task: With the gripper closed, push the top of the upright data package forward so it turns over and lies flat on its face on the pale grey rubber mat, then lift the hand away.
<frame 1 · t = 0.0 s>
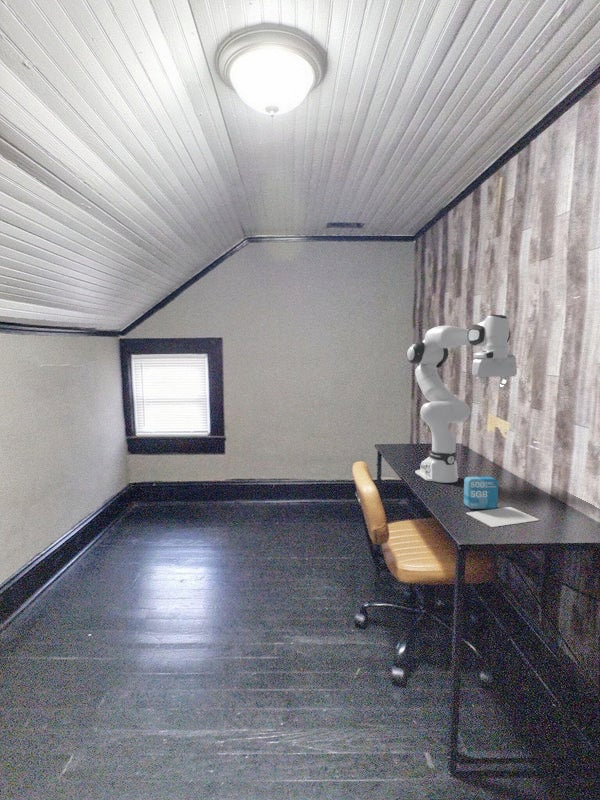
hand: (493, 387, 176), 48 cm above the table, tool pointing down, fingers open, 8 cm apart
mat: (502, 516, 162), on the table
data package: (480, 507, 172), on the table, touching mat
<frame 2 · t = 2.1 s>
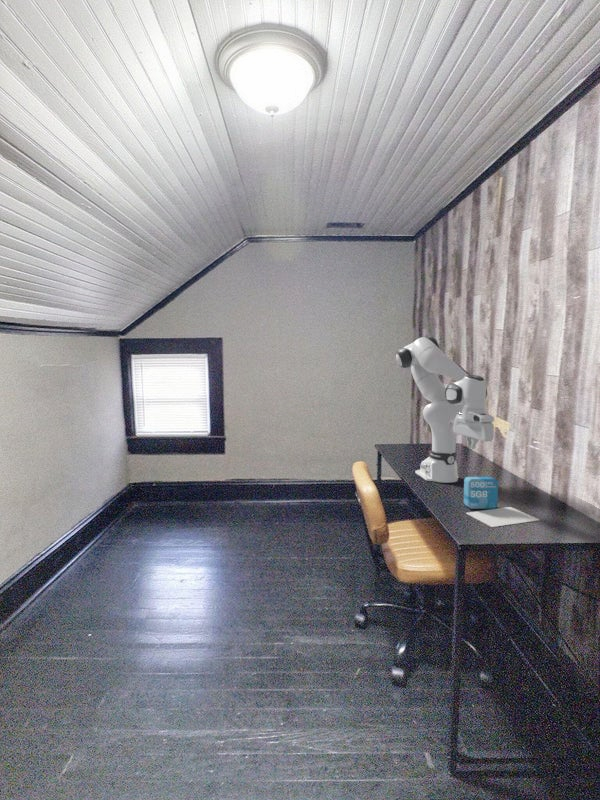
hand: (471, 448, 176), 23 cm above the table, tool pointing down, fingers closed
nothing on the table moved.
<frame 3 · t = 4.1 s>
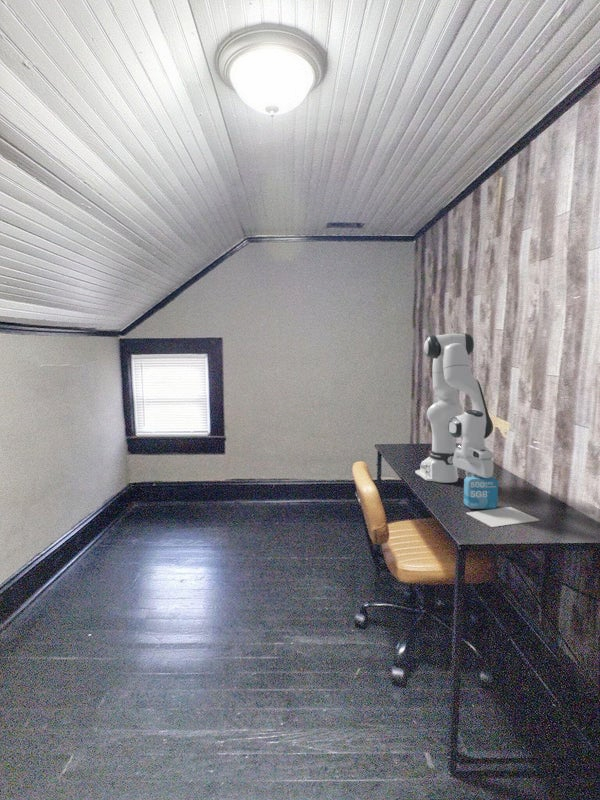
hand: (471, 482, 176), 9 cm above the table, tool pointing down, fingers closed
data package: (480, 507, 172), on the table, touching gripper, mat
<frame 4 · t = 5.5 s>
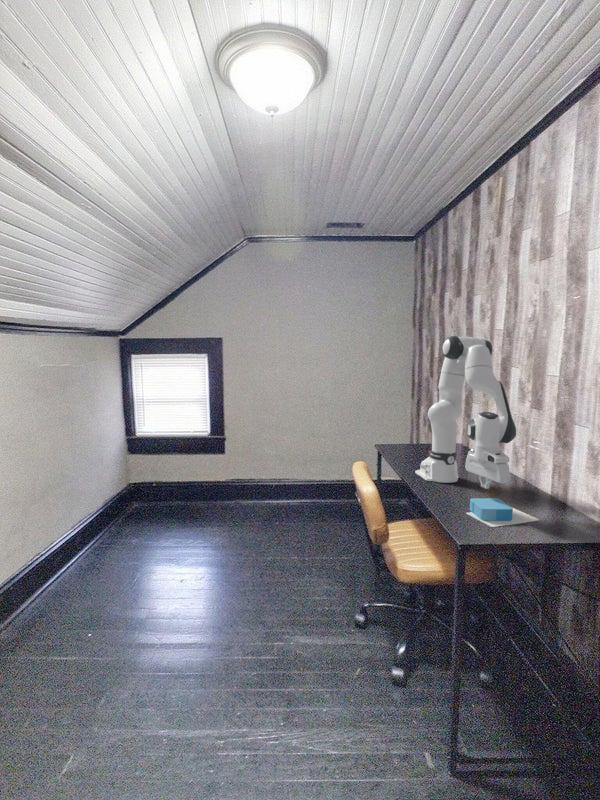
hand: (484, 487, 169), 9 cm above the table, tool pointing down, fingers closed
data package: (483, 503, 169), point 3 cm above the table, touching mat
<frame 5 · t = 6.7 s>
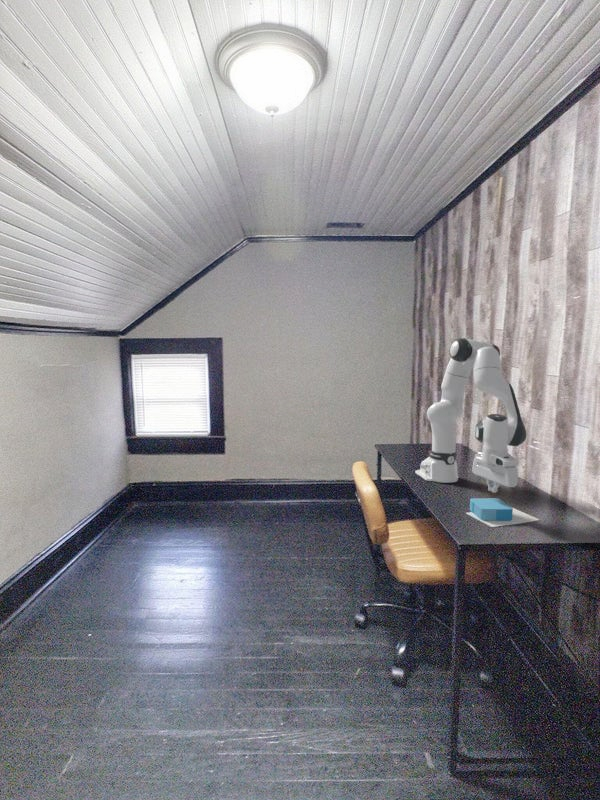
hand: (492, 491, 165), 9 cm above the table, tool pointing down, fingers closed
nothing on the table moved.
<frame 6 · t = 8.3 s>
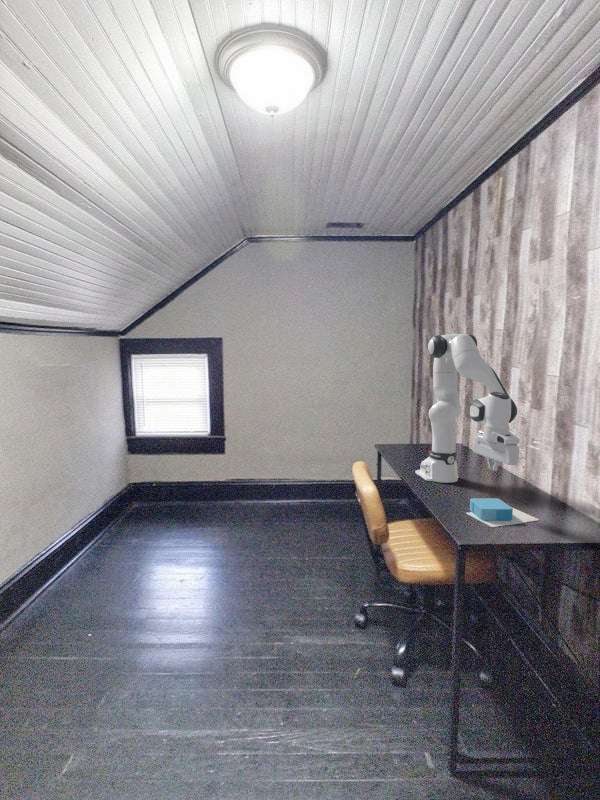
hand: (492, 470, 165), 17 cm above the table, tool pointing down, fingers closed
nothing on the table moved.
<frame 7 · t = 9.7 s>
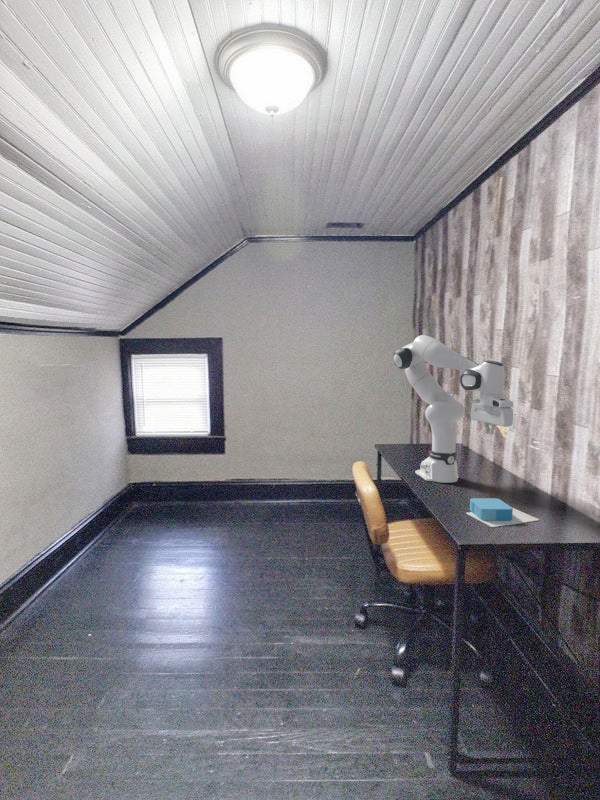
hand: (489, 433, 175), 29 cm above the table, tool pointing down, fingers closed
nothing on the table moved.
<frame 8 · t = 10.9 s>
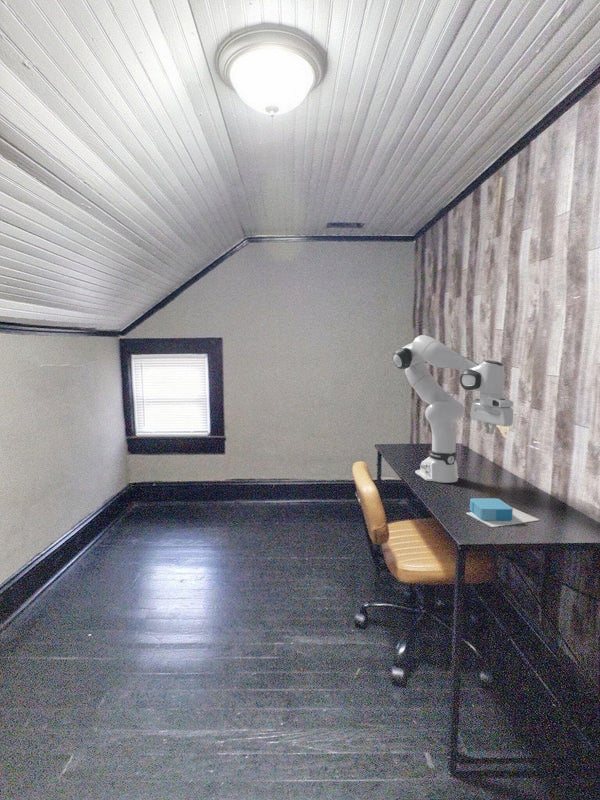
hand: (489, 433, 175), 29 cm above the table, tool pointing down, fingers closed
nothing on the table moved.
at the end: data package tilted 90°; data package inside the target area (2.0 cm from its centre), point 2.6 cm above the table; data package touching mat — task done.
